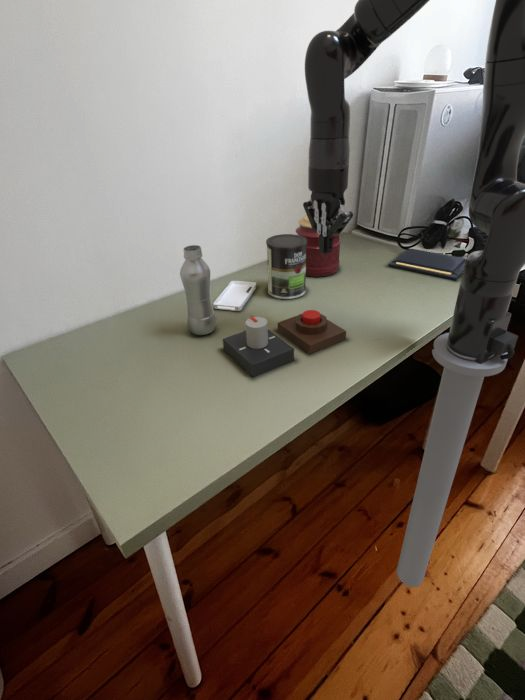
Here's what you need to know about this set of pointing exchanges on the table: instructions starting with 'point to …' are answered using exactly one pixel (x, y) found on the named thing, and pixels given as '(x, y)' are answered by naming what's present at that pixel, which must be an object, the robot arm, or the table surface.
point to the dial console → (258, 353)
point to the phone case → (234, 296)
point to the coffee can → (286, 266)
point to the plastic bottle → (197, 291)
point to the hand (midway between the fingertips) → (325, 252)
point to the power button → (311, 317)
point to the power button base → (311, 333)
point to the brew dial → (257, 332)
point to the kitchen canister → (316, 260)
